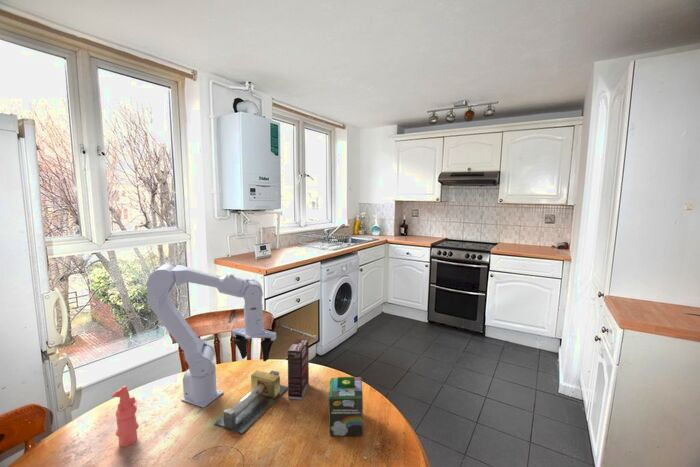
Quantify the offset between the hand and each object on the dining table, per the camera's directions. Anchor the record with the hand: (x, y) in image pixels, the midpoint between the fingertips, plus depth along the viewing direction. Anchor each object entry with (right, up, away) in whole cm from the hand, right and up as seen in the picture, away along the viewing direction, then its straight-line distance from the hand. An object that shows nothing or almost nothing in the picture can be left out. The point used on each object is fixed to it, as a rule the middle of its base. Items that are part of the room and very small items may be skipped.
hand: (255, 358), depth 103 cm
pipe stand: (+2, -11, -7) cm, 13 cm away
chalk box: (+30, -13, -15) cm, 36 cm away
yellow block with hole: (+4, -11, -2) cm, 12 cm away
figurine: (-26, -13, -21) cm, 36 cm away
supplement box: (+14, -11, 0) cm, 18 cm away
